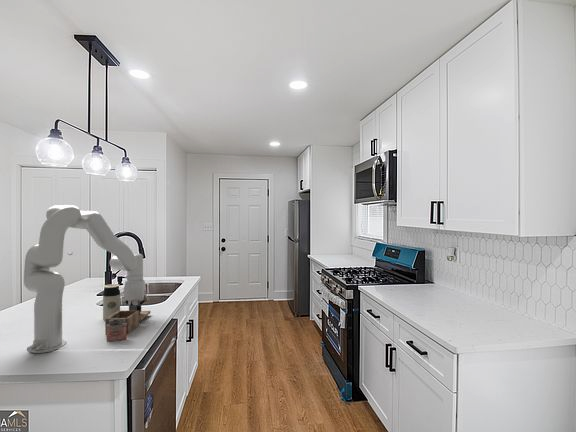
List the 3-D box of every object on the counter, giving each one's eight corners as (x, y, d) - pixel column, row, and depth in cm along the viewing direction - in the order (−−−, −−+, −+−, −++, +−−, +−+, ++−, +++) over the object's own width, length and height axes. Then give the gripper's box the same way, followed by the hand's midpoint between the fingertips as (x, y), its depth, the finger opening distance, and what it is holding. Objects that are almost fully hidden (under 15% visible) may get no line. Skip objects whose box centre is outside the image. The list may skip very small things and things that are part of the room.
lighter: (105, 344, 145) (105, 320, 145) (107, 341, 148) (107, 318, 148) (125, 342, 147) (125, 319, 147) (127, 339, 150) (127, 316, 150)
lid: (140, 321, 170) (140, 308, 170) (118, 321, 170) (118, 308, 170) (150, 313, 184) (150, 301, 184) (130, 313, 183) (130, 301, 183)
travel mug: (105, 318, 181) (105, 284, 181) (121, 317, 183) (121, 283, 183) (101, 322, 173) (101, 287, 173) (118, 321, 175) (118, 286, 175)
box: (127, 336, 154) (127, 318, 154) (105, 336, 154) (105, 318, 154) (139, 326, 167) (139, 310, 167) (118, 326, 167) (118, 310, 167)
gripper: (115, 279, 172) (115, 315, 173) (148, 279, 173) (148, 315, 173) (122, 276, 180) (122, 311, 180) (153, 276, 180) (153, 311, 181)
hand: (135, 312), depth 177 cm, fingers closed on lid, 3 cm apart
